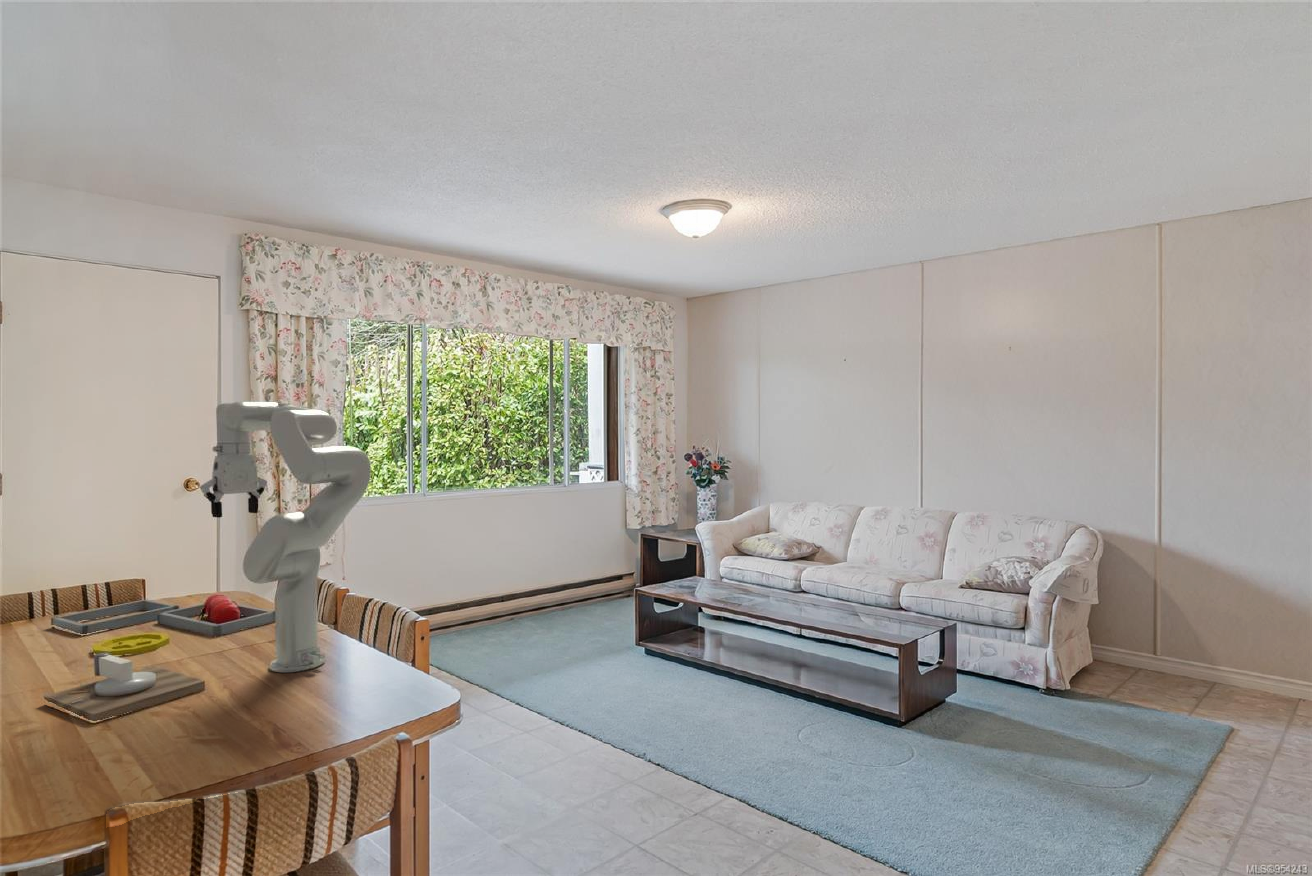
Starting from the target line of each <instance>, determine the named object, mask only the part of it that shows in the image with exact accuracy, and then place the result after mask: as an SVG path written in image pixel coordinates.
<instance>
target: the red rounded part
mask: <svg viewBox="0 0 1312 876" xmlns="http://www.w3.org/2000/svg"><path fill="white" fill-rule="evenodd" d="M233 603H235V604H236V605H235V604H233ZM203 604H204V608H203V609H201V610H200V611H201V614H202V613H203V614H202V615H201V614H200V615H198V618H197V619H196V620H201V621H203V618H204V616H205V615H207V618H208V619H209V621H211V623H214V624H222V623H226V622H230V621H234V620H238V619H241V616H240V611H239V609H238V607H239V606H237V604H238V603H237V602H236V601H234V600H232V599H231V598H230V597H229V596H227V595H226V594H223V593H215V594H213V595H210V596H208V598H207V599H206V601H205V602H204V603H203ZM205 613H206V614H205ZM200 617H201V618H200Z"/></svg>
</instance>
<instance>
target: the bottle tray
mask: <svg viewBox="0 0 1312 876" xmlns="http://www.w3.org/2000/svg"><path fill="white" fill-rule="evenodd" d="M232 603H233V602H232ZM233 604H235V603H233ZM235 605H236V604H235ZM237 606H239V607H238V609H239V611H240V615H243V616H246V617H243V616H242V617H243V618H240V619H238V620H234V621H230V622H226V623H222V624H214V623H212V622H209V621H205V620H202V621H201V619H198V620H197V619H196V618H195V619H194V618H192V616H193V617H196V616H195V615H197V616H199V615H200V614H201V611H200V610H201V609H203V608H204V603H201V604H200V603H199V604H197V605H196V604H195V605H191V606H186V607H182V608H179V609H176V610H171V611H167V612H162V613H158V620H157V624H159V625H163V626H168V627H173V628H177V629H182V630H187V631H189V630H190V632H195V633H199V634H202V635H203V634H204V635H207V634H208V635H207V636H211V635H212V636H211V637H215V636H216V637H215V638H217V637H220V635H221V636H224V635H223V634H225V635H229V634H233V633H236V631H237V632H240V631H239V630H241V631H243V630H242V629H245V630H247V629H248V628H249V629H252V628H251V627H253V628H256V627H255V626H257V627H259V626H258V625H260V626H263V625H264V626H265V625H268V624H271V623H275V610H270V609H266V608H260V607H255V606H250V605H244V604H239V603H237ZM202 614H203V613H202ZM202 614H201V616H202ZM204 615H207V613H205V614H204Z"/></svg>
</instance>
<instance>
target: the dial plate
mask: <svg viewBox="0 0 1312 876" xmlns="http://www.w3.org/2000/svg"><path fill="white" fill-rule="evenodd" d="M134 672H152V673H155V674H156V683H155V685H153V686H152V687H150V688H148V689H145V690H142V691H139V692H135V693H131V694H126V695H120V696H98V695H96V694H95V685H96V683H98V682H99V681H100V680H98V681H95V682H91V683H86V684H83V685H79V686H76V687H71V688H67V689H64V690H61V691H57V692H54V693H48V694H45V695H43V700H44V699H45V700H47V701H48V702H52V703H54V704H56V705H57V706H59V707H62V708H64V709H66V710H68V711H71V712H73V713H75V714H77V715H79V716H83V717H84V718H86V719H88V720H92V721H97V720H103V719H106V718H109V717H112V716H118V715H121V714H124V713H127V712H130V711H135V712H137V710H138V711H140V710H139V709H141V710H143V709H142V708H144V709H146V708H145V707H148V708H151V707H153V706H156V705H155V704H157V705H160V704H162V703H161V702H164V703H166V702H169V700H170V701H172V699H173V700H175V699H174V698H176V699H178V697H180V698H182V697H186V696H188V694H189V695H192V694H191V693H193V694H196V693H198V692H202V691H205V690H206V683H205V682H206V681H205V680H203V679H199V678H196V677H192V676H189V675H186V674H183V673H178V672H175V671H172V670H169V669H164V668H161V667H157V666H155V665H154V666H150V667H146V668H143V669H139V670H134V671H132V673H134ZM159 703H160V704H159Z"/></svg>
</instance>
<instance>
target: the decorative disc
mask: <svg viewBox="0 0 1312 876" xmlns="http://www.w3.org/2000/svg"><path fill="white" fill-rule="evenodd" d="M167 644H168V645H170V636H169V635H168V633H166V632H165V633H161V632H154V631H153V632H144V633H143V632H141V633H136V634H135V633H133V634H132V633H131V634H127V635H121V636H118V637H112V638H108V639H105V640H102V641H101V642H98V643H95V644H93V645H92V651H94V653H95V654H100V653H110V655H125V654H137V653H141V654H143V653H142V652H145V653H149V652H153V651H152V650H154V651H157V650H156V649H158V650H160V649H161V648H160V647H162V648H163V646H164V647H165V645H166V646H167ZM103 647H108V648H107V649H104V648H103ZM110 647H111V648H110ZM159 648H160V649H159ZM94 653H93V654H94ZM137 655H138V654H137Z"/></svg>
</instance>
